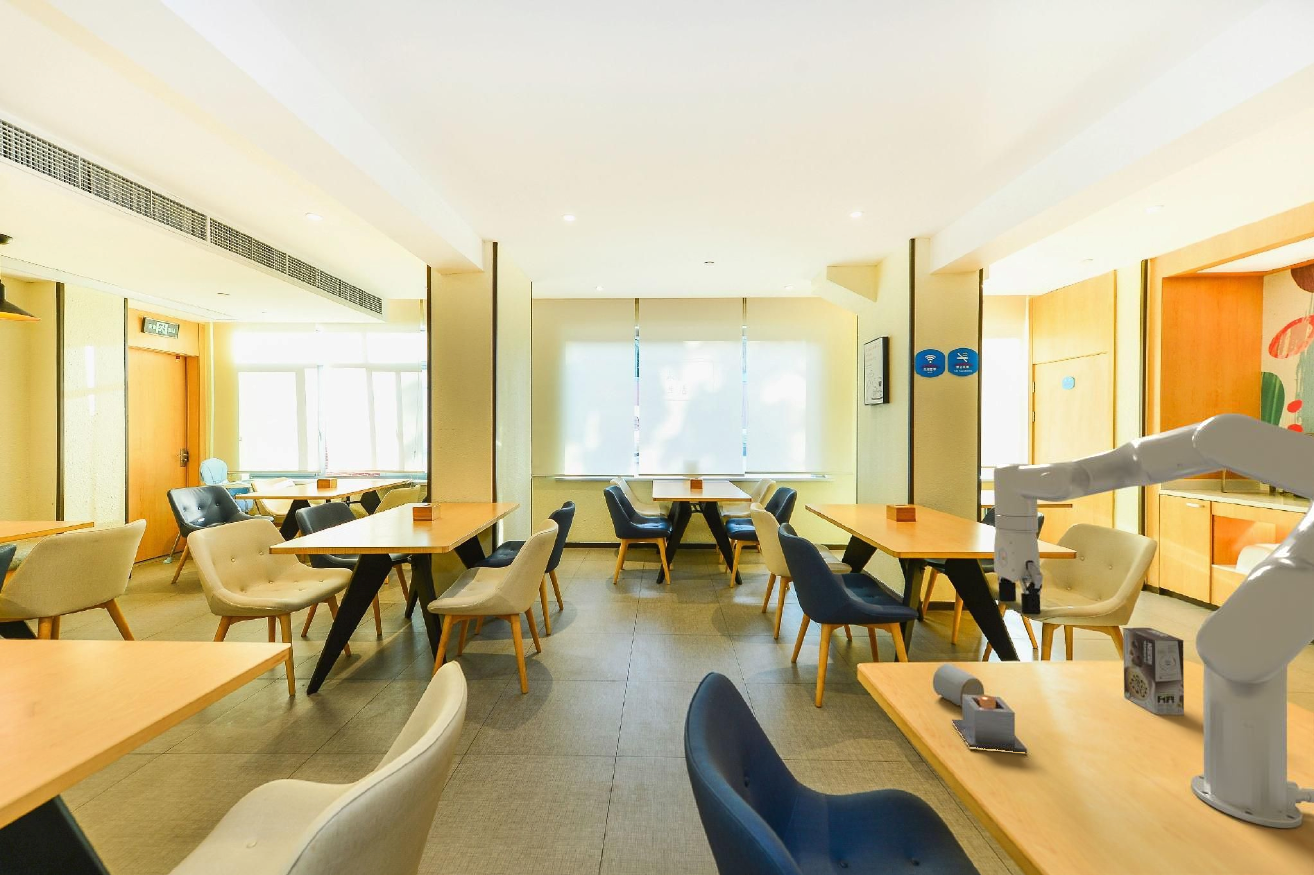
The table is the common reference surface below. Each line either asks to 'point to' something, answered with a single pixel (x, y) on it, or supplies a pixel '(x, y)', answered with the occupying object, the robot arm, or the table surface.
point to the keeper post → (988, 702)
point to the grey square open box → (988, 720)
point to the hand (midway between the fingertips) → (1018, 607)
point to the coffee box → (1154, 670)
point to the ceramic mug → (955, 683)
